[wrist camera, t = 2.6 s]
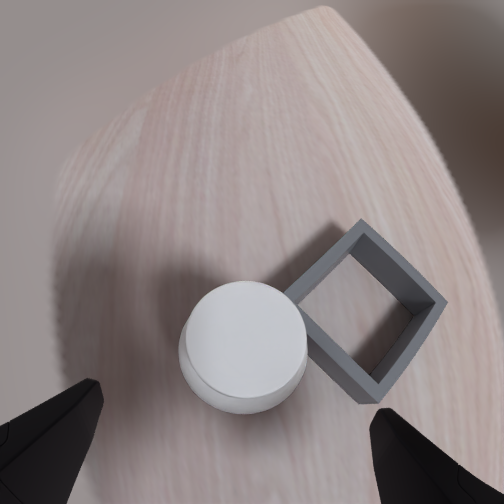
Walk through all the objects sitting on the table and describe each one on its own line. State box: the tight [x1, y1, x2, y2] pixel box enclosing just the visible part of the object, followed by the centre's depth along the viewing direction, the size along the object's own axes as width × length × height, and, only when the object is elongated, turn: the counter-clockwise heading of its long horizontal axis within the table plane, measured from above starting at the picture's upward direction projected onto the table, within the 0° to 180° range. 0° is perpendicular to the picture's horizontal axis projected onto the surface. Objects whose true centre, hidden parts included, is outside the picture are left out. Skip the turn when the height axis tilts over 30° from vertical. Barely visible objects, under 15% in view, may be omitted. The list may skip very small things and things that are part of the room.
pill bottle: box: [178, 281, 308, 415], centre depth 14 cm, size 5×5×10 cm
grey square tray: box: [283, 219, 448, 404], centre depth 19 cm, size 9×9×3 cm
